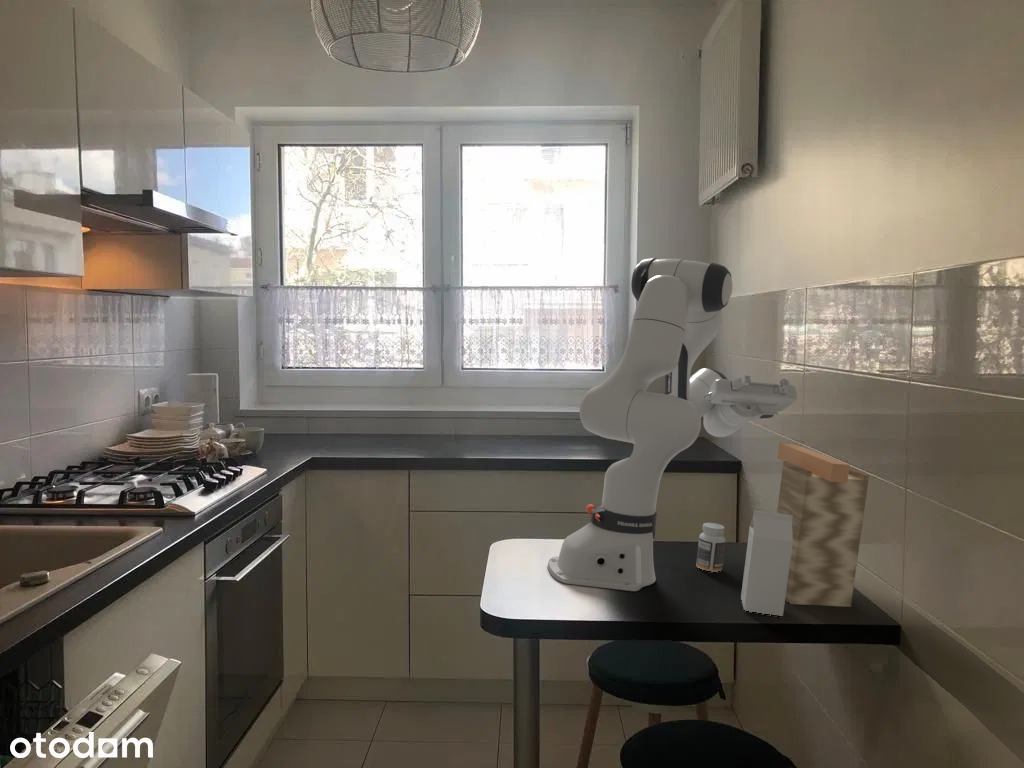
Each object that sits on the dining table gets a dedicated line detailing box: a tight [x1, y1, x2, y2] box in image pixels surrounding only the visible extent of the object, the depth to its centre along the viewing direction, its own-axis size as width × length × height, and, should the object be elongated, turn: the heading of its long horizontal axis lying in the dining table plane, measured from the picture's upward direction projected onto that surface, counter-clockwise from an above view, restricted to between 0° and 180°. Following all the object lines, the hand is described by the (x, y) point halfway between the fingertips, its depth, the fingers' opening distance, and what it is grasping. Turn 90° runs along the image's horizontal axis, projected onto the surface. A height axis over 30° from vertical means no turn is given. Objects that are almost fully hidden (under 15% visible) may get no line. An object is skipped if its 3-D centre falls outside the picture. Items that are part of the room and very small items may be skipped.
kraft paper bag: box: [776, 461, 870, 608], centre depth 157 cm, size 13×10×27 cm
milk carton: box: [740, 509, 793, 617], centre depth 148 cm, size 7×7×19 cm
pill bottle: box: [695, 522, 727, 573], centre depth 170 cm, size 6×6×10 cm
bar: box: [776, 442, 851, 483], centre depth 158 cm, size 4×22×4 cm, turn 7°
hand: (767, 380), depth 176 cm, fingers open, 8 cm apart
